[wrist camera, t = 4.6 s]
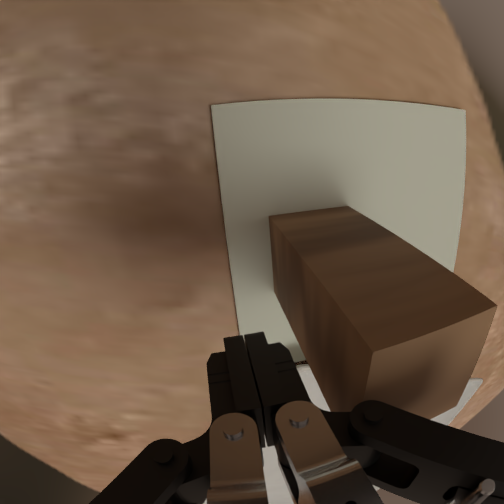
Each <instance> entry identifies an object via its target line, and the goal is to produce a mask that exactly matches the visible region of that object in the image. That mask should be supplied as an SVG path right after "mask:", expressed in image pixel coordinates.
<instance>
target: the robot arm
mask: <svg viewBox="0 0 504 504" xmlns="http://www.w3.org/2000/svg"><path fill="white" fill-rule="evenodd" d="M223 339H224V345H225V352H219V353H212V354H211V355H210V358H209V360H208V362H207V374H208V383H209V394H210V403H211V412H212V422H211V425H210V427H209V429H208V430H207V431H206V432H205V433H204V434H203V435H202V436H200V437H198V438H196V439H194V440H191V441H189V442H186V443H184V444H182V443H180V442H178V441H176V440H173V439H159V440H156V441H154V442H152V443H150V444H149V445H148V446H147V447H146V448H145V449H144V450H143V451H142V452H141V453H140V454H139V455H138V456H137V457H136V458H135V459H134V460H133V461H132V462H131V463H130V464H129V465H128V466H127V467H126V468H125V469H124V470H123V471H122V472H121V473H120V474H119V475H118V476H117V477H116V478H115V479H114V480H113V481H112V482H111V483H110V484H109V485H108V486H107V487H106V488H105V489H104V490H103V491H102V492H101V493H100V494H99V495H97V496H96V497H95V498H94V499H93V500H92V501H91V502H90V503H89V504H203V503H204V502H205V500H206V499H207V504H269V503H268V496H267V490H266V484H265V477H264V471H263V467H264V459H263V451H262V448H266V446H265V439H266V443H267V446H268V447H270V446H275V449H276V453H277V457H278V465H279V468H280V470H281V473H282V476H283V478H284V481H285V483H286V486H287V488H288V491H289V493H290V495H291V498H292V500H293V503H294V504H384V503H383V502H382V500H381V498H380V497H379V495H378V493H377V492H376V490H375V488H374V487H373V485H374V486H377V487H379V488H382V489H384V490H386V491H389V492H391V493H394V494H396V495H399V496H401V497H404V498H407V499H409V500H412V501H415V502H417V503H420V504H504V443H503V442H499V441H496V440H492V439H489V438H485V437H482V436H479V435H475V434H472V433H469V432H466V431H463V430H459V429H456V428H453V427H450V426H447V425H444V424H441V423H438V422H435V421H433V420H430V419H427V418H424V417H421V416H418V415H416V414H413V413H410V412H408V411H405V410H402V409H400V408H397V407H394V406H392V405H389V404H387V403H384V402H381V401H377V400H367V401H363V402H361V403H359V404H357V405H356V406H355V407H354V408H353V409H352V411H351V412H330V411H325V410H322V409H320V408H318V407H317V406H316V405H314V404H313V403H312V401H311V400H310V398H309V396H308V393H307V391H306V389H305V386H304V384H303V382H302V379H301V377H300V374H299V372H298V370H297V367H296V365H295V363H294V361H293V358H292V356H291V353H290V351H289V349H288V348H286V347H285V346H284V345H283V344H282V343H280V342H277V343H272V344H268V342H267V340H266V337H265V334H264V332H263V331H262V332H257V333H251V334H245V335H244V338H243V335H239V336H233V337H226V338H223ZM244 341H245V342H244ZM264 435H265V436H264Z"/></svg>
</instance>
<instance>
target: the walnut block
mask: <svg viewBox="0 0 504 504" xmlns="http://www.w3.org/2000/svg"><path fill="white" fill-rule="evenodd" d="M269 229H270V242H271V255H272V269H273V283H274V293H275V295H276V297H277V299H278V301H279V303H280V305H281V308H282V310H283V312H284V314H285V316H286V318H287V320H288V322H289V324H290V327H291V329H292V331H293V333H294V335H295V337H296V339H297V341H298V343H299V346H300V348H301V350H302V352H303V354H304V356H305V358H306V360H307V362H308V365H309V367H310V369H311V371H312V373H313V375H314V377H315V379H316V381H317V384H318V386H319V388H320V390H321V392H322V394H323V396H324V398H325V401H326V403H327V405H328V407H329V409H330V411H331V412H351V411H352V409H353V408H354V407H355V406H356V405H357V404H359V403H361V402H363V401H367V400H377V401H381V402H384V403H387V404H389V405H392V406H394V407H397V408H400V409H402V410H405V411H408V412H410V413H413V414H416V415H418V416H421V417H424V418H427V419H432V418H434V417H436V416H438V415H440V414H442V413H444V412H446V411H448V410H450V409H452V408H454V407H455V406H457V404H458V402H459V400H460V398H461V396H462V394H463V392H464V390H465V388H466V386H467V383H468V381H469V379H470V377H471V375H472V372H473V370H474V368H475V365H476V363H477V361H478V358H479V356H480V353H481V351H482V348H483V346H484V343H485V340H486V338H487V335H488V332H489V329H490V327H491V324H492V321H493V318H494V315H495V312H496V308H497V305H496V304H495V303H494V302H492V301H491V300H490V299H488V298H487V297H486V296H484V295H483V294H482V293H480V292H479V291H478V290H476V289H475V288H474V287H472V286H471V285H470V284H468V283H467V282H465V281H464V280H463V279H461V278H460V277H458V276H457V275H456V274H454V273H453V272H451V271H450V270H448V269H447V268H446V267H444V266H443V265H441V264H440V263H438V262H437V261H435V260H434V259H432V258H431V257H429V256H428V255H426V254H425V253H423V252H422V251H420V250H419V249H417V248H416V247H414V246H413V245H411V244H410V243H408V242H407V241H405V240H403V239H402V238H400V237H399V236H397V235H396V234H394V233H392V232H391V231H389V230H388V229H386V228H384V227H383V226H381V225H379V224H378V223H376V222H374V221H373V220H371V219H370V218H368V217H366V216H365V215H363V214H361V213H359V212H358V211H356V210H354V209H353V208H351V207H349V206H342V207H334V208H326V209H317V210H309V211H301V212H294V213H286V214H278V215H271V216H269Z"/></svg>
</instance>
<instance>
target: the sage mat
mask: <svg viewBox="0 0 504 504" xmlns="http://www.w3.org/2000/svg"><path fill="white" fill-rule="evenodd" d="M211 113H212V123H213V132H214V141H215V150H216V158H217V167H218V176H219V184H220V192H221V200H222V209H223V217H224V224H225V232H226V240H227V248H228V255H229V263H230V270H231V277H232V285H233V292H234V299H235V306H236V313H237V320H238V327H239V334H240V335H243V338H244V335H245V334H251V333H257V332H262V331H263V332H264V334H265V337H266V340H267V342H268V344H272V343H277V342H280V343H282V344H283V345H284V346H285V347H286V348H288V349H289V351H290V353H291V356H292V358H293V361H294V363H295V362H300V361H304V360H306V358H305V356H304V354H303V352H302V350H301V348H300V346H299V343H298V341H297V339H296V337H295V335H294V333H293V331H292V329H291V327H290V324H289V322H288V320H287V318H286V316H285V314H284V312H283V310H282V308H281V305H280V303H279V301H278V299H277V297H276V295H275V293H274V283H273V269H272V255H271V242H270V229H269V216H271V215H278V214H286V213H294V212H301V211H309V210H317V209H326V208H334V207H342V206H349V207H351V208H353V209H354V210H356V211H358V212H359V213H361V214H363V215H365V216H366V217H368V218H370V219H371V220H373V221H374V222H376V223H378V224H379V225H381V226H383V227H384V228H386V229H388V230H389V231H391V232H392V233H394V234H396V235H397V236H399V237H400V238H402V239H403V240H405V241H407V242H408V243H410V244H411V245H413V246H414V247H416V248H417V249H419V250H420V251H422V252H423V253H425V254H426V255H428V256H429V257H431V258H432V259H434V260H435V261H437V262H438V263H440V264H441V265H443V266H444V267H446V268H447V269H448V270H450V271H451V272H453V271H454V265H455V260H456V254H457V248H458V241H459V234H460V226H461V218H462V209H463V198H464V185H465V166H466V112H465V110H462V109H455V108H449V107H442V106H434V105H426V104H418V103H408V102H397V101H383V100H365V99H281V100H263V101H249V102H237V103H227V104H218V105H211ZM244 342H245V341H244Z"/></svg>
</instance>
